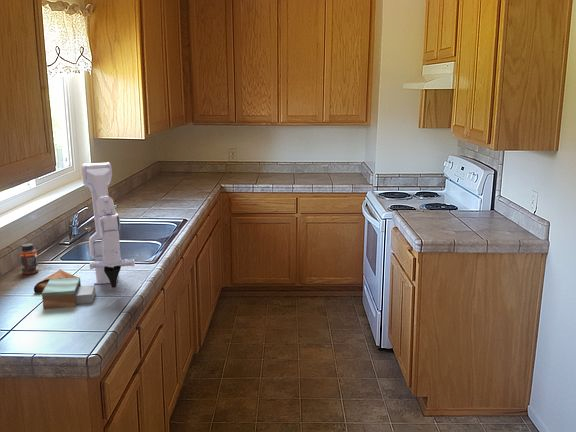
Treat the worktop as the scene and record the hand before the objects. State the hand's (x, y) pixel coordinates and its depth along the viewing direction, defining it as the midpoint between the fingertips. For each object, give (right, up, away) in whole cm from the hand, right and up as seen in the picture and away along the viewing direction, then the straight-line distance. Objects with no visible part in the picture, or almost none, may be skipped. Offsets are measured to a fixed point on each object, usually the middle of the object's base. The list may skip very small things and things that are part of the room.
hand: (114, 286), depth 192 cm
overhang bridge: (-16, -4, -3) cm, 17 cm away
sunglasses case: (-24, -1, +12) cm, 27 cm away
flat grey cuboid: (-13, -4, -2) cm, 14 cm away
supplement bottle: (-41, +2, +25) cm, 48 cm away
